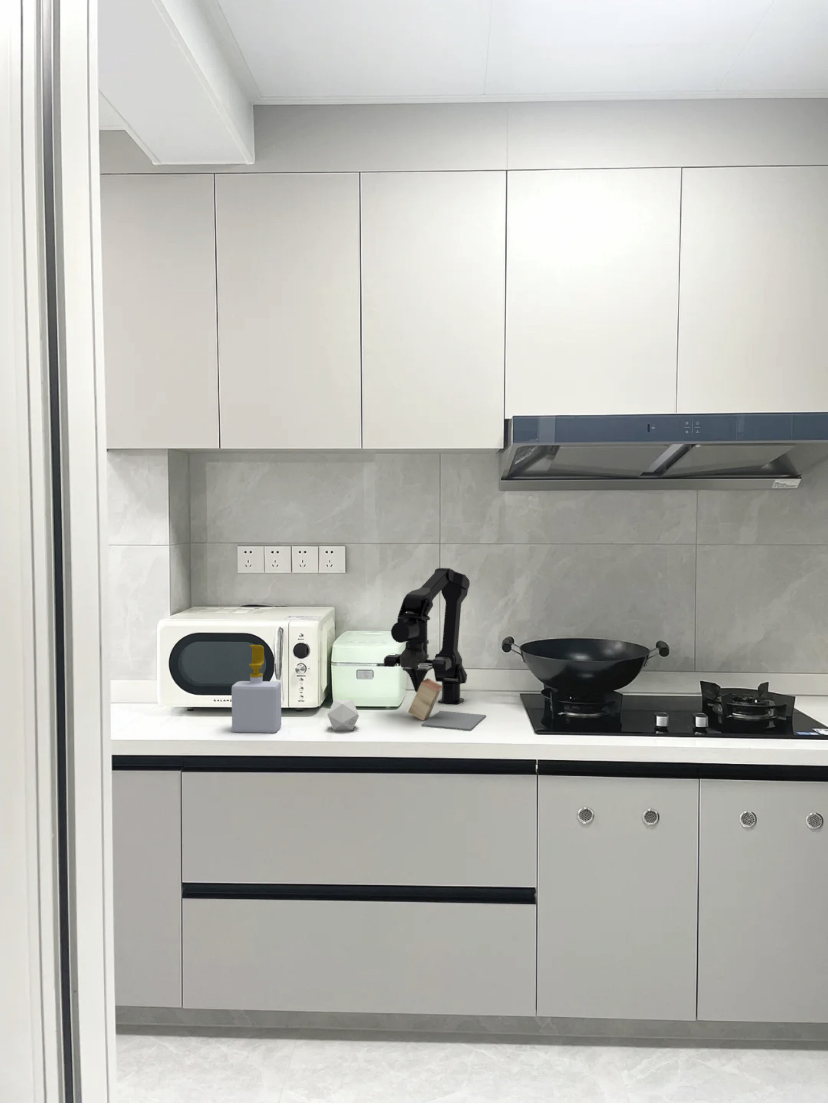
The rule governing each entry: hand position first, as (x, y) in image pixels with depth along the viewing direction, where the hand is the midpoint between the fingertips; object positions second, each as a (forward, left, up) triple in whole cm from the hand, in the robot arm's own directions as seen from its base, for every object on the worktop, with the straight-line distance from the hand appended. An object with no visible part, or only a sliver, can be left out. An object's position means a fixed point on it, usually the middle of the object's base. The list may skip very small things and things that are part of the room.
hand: (417, 691), depth 236 cm
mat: (0, +11, -8) cm, 13 cm away
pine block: (0, 0, -6) cm, 7 cm away
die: (+18, -15, -8) cm, 25 cm away
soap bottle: (+27, -36, -8) cm, 46 cm away
